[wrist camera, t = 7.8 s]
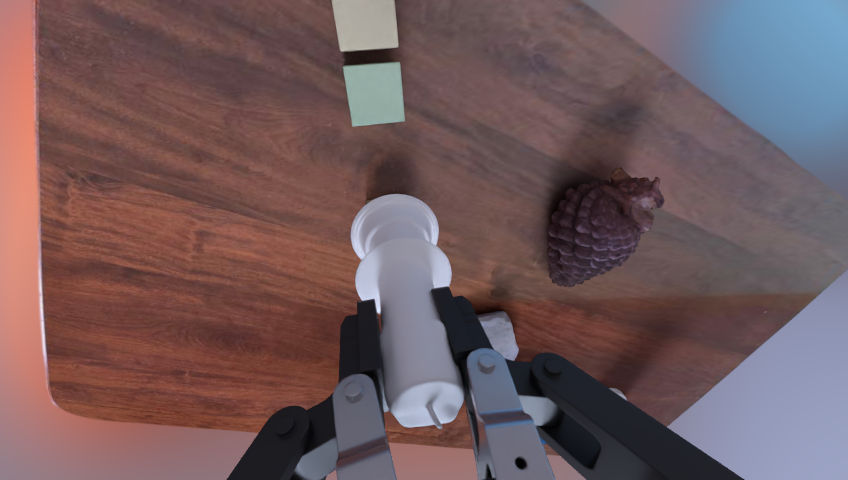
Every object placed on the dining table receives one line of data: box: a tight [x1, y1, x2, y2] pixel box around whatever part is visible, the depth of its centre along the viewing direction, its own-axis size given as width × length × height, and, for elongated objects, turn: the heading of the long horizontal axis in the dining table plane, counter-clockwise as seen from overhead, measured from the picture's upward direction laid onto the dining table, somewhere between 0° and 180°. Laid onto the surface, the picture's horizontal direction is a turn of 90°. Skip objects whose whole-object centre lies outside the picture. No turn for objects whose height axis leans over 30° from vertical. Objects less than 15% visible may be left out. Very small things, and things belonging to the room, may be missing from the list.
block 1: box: [332, 0, 399, 52], centre depth 26 cm, size 4×4×4 cm
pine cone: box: [547, 167, 664, 287], centre depth 38 cm, size 18×10×10 cm
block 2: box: [343, 62, 405, 126], centre depth 28 cm, size 4×4×4 cm
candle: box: [351, 194, 465, 429], centre depth 15 cm, size 5×5×12 cm
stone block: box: [477, 311, 519, 361], centre depth 47 cm, size 12×5×10 cm
